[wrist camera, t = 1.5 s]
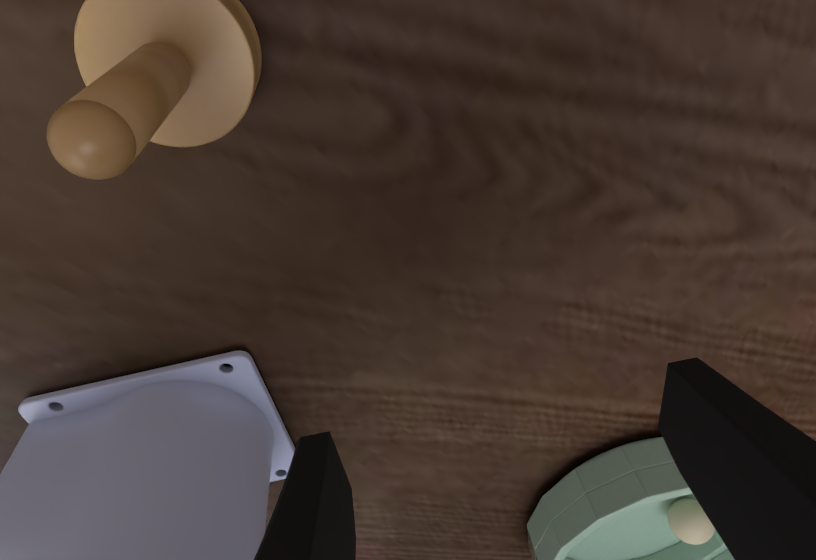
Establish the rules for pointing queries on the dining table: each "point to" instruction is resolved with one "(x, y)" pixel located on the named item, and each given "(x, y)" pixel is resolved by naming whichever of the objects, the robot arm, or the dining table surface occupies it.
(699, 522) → the ball
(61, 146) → the wooden rubber stamp
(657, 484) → the bowl
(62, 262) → the dining table surface
